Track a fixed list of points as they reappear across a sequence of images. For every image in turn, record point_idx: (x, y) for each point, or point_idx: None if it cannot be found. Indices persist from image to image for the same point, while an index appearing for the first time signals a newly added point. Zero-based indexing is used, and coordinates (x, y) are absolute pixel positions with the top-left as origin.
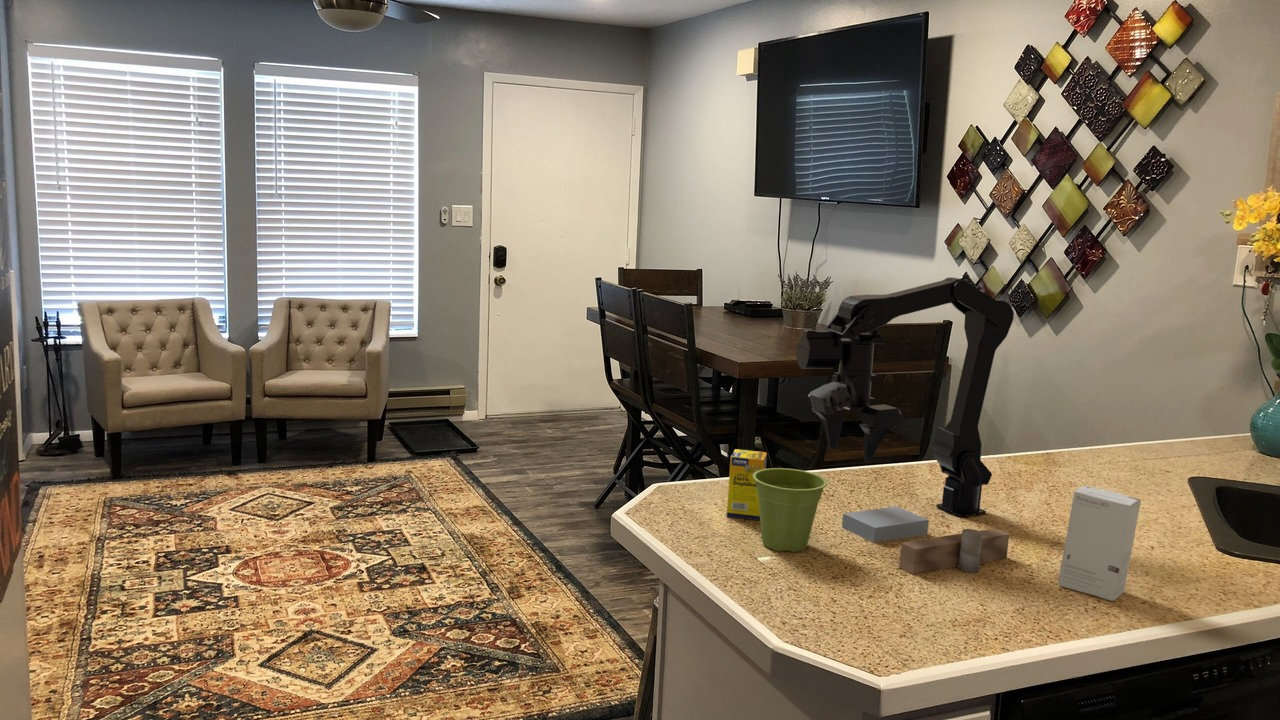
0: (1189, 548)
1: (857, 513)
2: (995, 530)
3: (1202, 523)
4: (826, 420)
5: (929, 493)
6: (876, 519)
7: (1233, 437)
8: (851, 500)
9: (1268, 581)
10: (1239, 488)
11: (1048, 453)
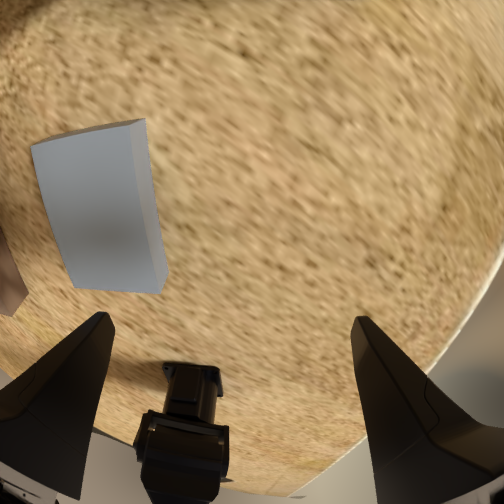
0: None
1: (121, 167)
2: (4, 310)
3: None
4: (433, 440)
5: (284, 392)
6: (75, 186)
7: (285, 496)
8: (322, 279)
9: None
10: None
11: (321, 470)
